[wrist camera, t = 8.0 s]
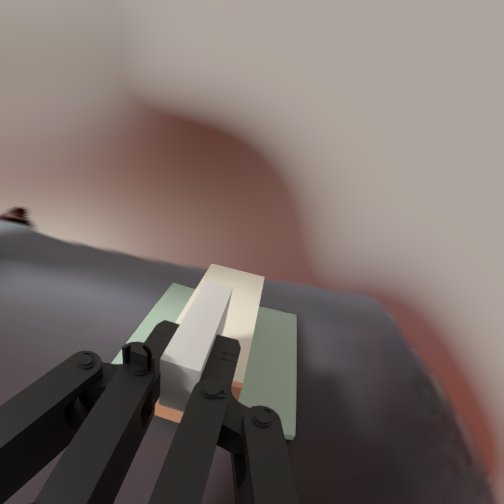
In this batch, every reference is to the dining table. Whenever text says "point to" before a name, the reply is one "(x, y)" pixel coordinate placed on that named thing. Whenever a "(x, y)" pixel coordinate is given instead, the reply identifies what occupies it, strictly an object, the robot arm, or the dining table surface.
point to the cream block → (229, 321)
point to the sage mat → (260, 356)
